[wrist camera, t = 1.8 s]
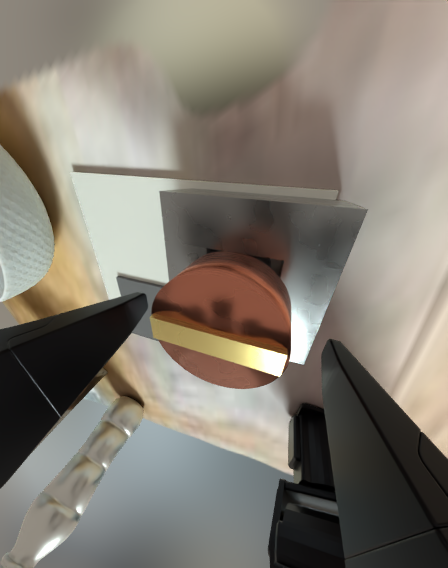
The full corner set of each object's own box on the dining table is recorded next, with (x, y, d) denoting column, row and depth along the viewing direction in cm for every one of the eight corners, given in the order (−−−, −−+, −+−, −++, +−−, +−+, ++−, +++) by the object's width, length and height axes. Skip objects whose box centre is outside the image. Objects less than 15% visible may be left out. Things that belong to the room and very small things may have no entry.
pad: (185, 290, 18) (183, 292, 18) (189, 347, 22) (187, 350, 22) (118, 275, 20) (115, 277, 20) (132, 330, 24) (130, 332, 24)
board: (337, 190, 11) (339, 190, 11) (280, 368, 20) (280, 372, 19) (75, 172, 16) (69, 171, 16) (119, 320, 25) (116, 322, 24)
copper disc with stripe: (300, 230, 13) (313, 300, 5) (282, 302, 16) (273, 411, 8) (217, 220, 14) (134, 264, 7) (214, 288, 17) (156, 370, 10)
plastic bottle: (113, 390, 37) (-34, 565, 20) (135, 390, 34) (-18, 596, 17) (132, 411, 39) (13, 585, 22) (154, 413, 36) (35, 617, 19)
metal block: (345, 200, 11) (367, 209, 8) (301, 326, 16) (303, 364, 13) (192, 188, 13) (159, 190, 10) (195, 301, 18) (174, 328, 15)
